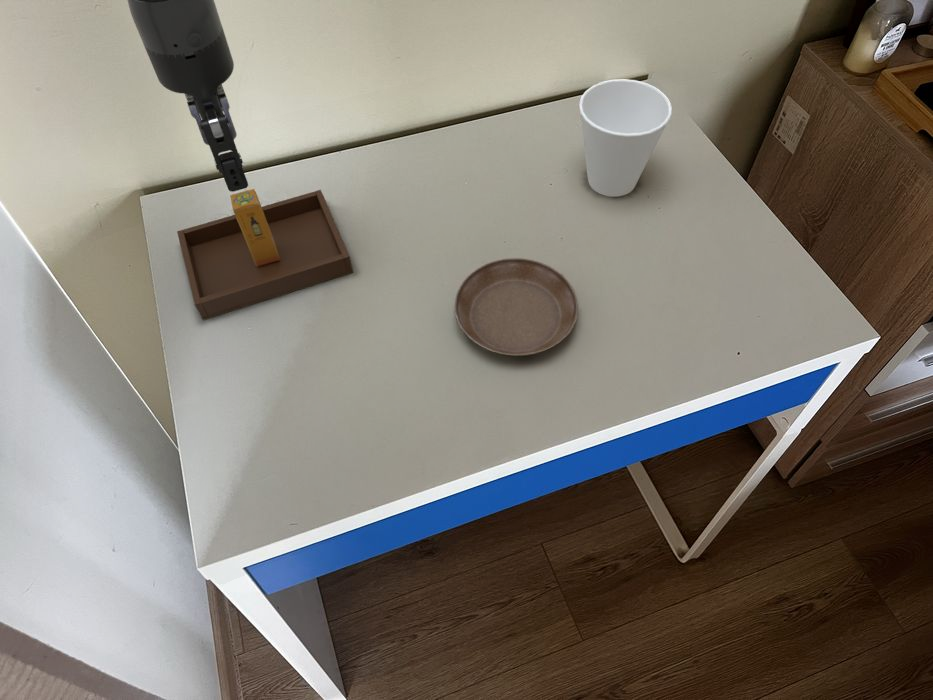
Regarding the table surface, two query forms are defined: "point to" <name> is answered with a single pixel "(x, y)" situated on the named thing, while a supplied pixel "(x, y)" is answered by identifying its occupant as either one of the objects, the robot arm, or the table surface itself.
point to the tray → (243, 283)
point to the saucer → (516, 307)
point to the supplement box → (254, 227)
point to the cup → (621, 132)
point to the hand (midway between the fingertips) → (231, 164)
